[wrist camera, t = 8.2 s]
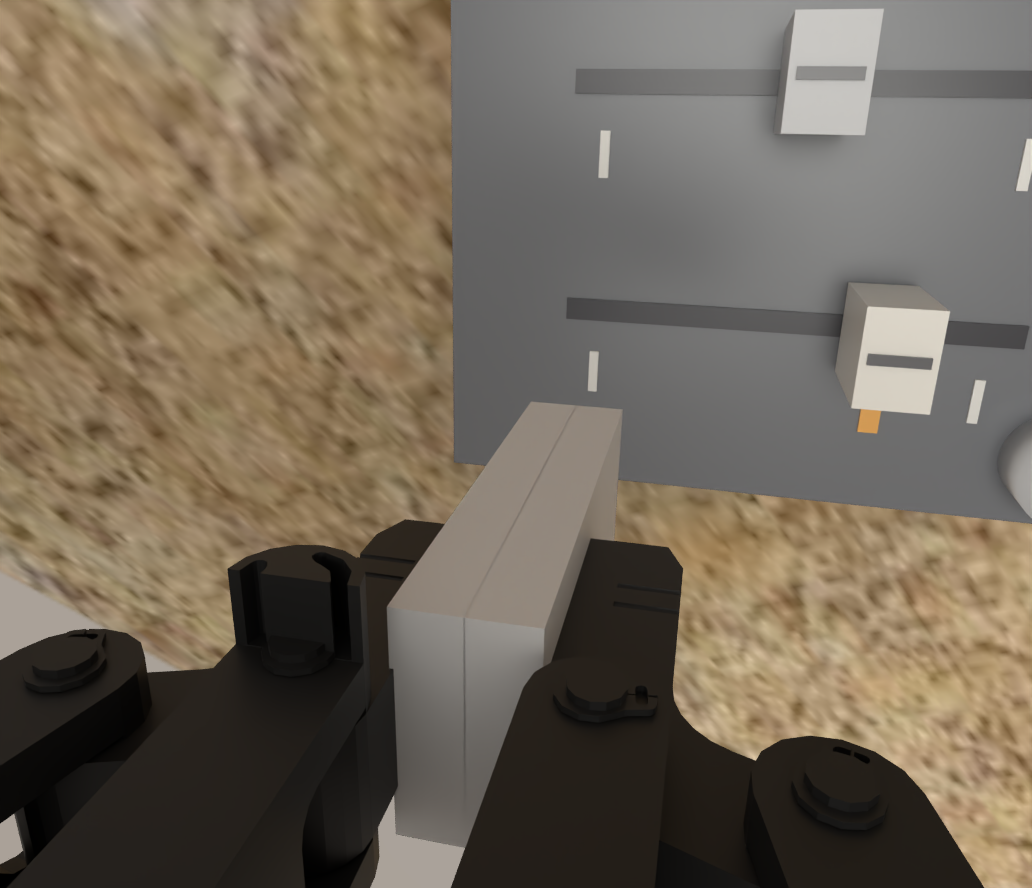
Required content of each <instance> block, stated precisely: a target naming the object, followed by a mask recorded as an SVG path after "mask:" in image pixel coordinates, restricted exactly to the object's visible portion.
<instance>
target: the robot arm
mask: <svg viewBox="0 0 1032 888" xmlns="http://www.w3.org/2000/svg"><path fill="white" fill-rule="evenodd" d="M622 411H623V409H612V408H600V407H588V406H577V405H565V404H553V403H541V402H530V404H529V405H528V407H527V408H526V410H525V411H524V412H523V414H522V415H521V417H520V418H519V420H518V421H517V422H516V424H515V425H514V427H513V428H512V429H511V431H510V432H509V434H508V435H507V437H506V438H505V439H504V441H503V442H502V444H501V445H500V447H499V448H498V449H497V451H496V452H495V454H494V455H493V456H492V458H491V459H490V461H489V462H488V464H487V465H486V466H485V468H484V469H483V471H482V472H481V474H480V475H479V476H478V478H477V479H476V481H475V482H474V483H473V485H472V486H471V488H470V489H469V491H468V492H467V493H466V495H465V496H464V498H463V499H462V501H461V502H460V503H459V505H458V506H457V508H456V509H455V511H454V512H453V513H452V515H451V516H450V518H449V519H448V520H447V522H446V523H445V524H440V523H431V522H423V521H414V520H406V519H405V520H403V521H402V522H400V523H398V524H396V525H394V526H392V527H390V528H388V529H386V530H384V531H382V532H380V533H378V534H377V535H376V536H375V537H374V538H373V539H372V541H371V542H370V543H369V544H368V545H367V546H366V548H365V549H364V550H363V551H362V552H361V554H360V558H359V557H357V558H355V557H354V556H352V555H351V554H349V553H347V552H346V551H343V550H339V549H335V548H331V547H327V546H320V545H293V546H286V547H280V548H273V549H269V550H266V551H263V552H260V553H257V554H254V555H251V556H248V557H246V558H244V559H242V560H241V561H239V562H238V563H236V564H234V565H233V566H231V567H230V568H228V577H229V586H230V595H231V603H232V612H233V621H234V630H235V639H236V645H235V646H234V647H233V648H232V649H231V650H230V651H229V652H228V653H227V654H226V655H225V656H224V657H223V658H222V660H221V661H220V662H219V663H218V664H217V665H216V666H215V667H214V668H211V669H202V670H184V671H169V672H168V671H167V672H151V673H147V669H146V662H145V656H144V652H143V649H142V645H141V642H139V641H138V640H136V639H135V638H133V637H132V636H130V635H129V634H127V633H123V632H118V631H113V630H107V629H89V630H86V629H82V630H73V631H69V632H67V633H64V634H60V635H56V636H52V637H48V638H46V639H43V640H41V641H38V642H36V643H34V644H31V645H29V646H27V647H25V648H22V649H20V650H18V651H16V652H14V653H13V654H11V655H9V656H7V657H5V658H3V659H2V660H0V823H1V822H3V821H4V820H6V819H7V818H9V817H10V816H11V815H13V814H15V819H16V823H17V827H18V831H19V835H20V839H21V844H22V848H23V851H22V852H21V853H20V854H19V855H17V856H16V857H14V858H12V859H10V860H8V861H6V862H4V863H2V864H0V888H370V886H371V884H372V882H373V880H374V878H375V874H376V870H377V865H378V861H379V841H378V826H379V824H380V822H381V820H382V818H383V815H384V814H385V812H386V810H387V808H388V806H389V804H390V802H391V800H392V797H393V796H394V799H395V821H396V822H395V824H396V834H398V835H402V836H407V837H412V838H418V839H423V840H428V841H433V842H438V843H443V844H448V845H453V846H459V847H464V848H465V850H464V853H463V856H462V859H461V861H460V864H459V867H458V869H457V872H456V875H455V878H454V881H453V883H452V886H451V888H984V887H983V885H982V883H981V882H980V880H979V879H978V877H977V876H976V874H975V872H974V871H973V869H972V868H971V866H970V864H969V863H968V861H967V860H966V858H965V857H964V855H963V853H962V852H961V850H960V849H959V847H958V845H957V844H956V842H955V841H954V839H953V838H952V836H951V834H950V833H949V831H948V830H947V828H946V826H945V825H944V823H943V822H942V820H941V819H940V817H939V815H938V814H937V812H936V811H935V809H934V807H933V806H932V804H931V803H930V801H929V800H928V798H927V796H926V795H925V793H924V792H923V791H922V790H921V789H920V788H919V787H918V786H917V785H916V783H915V782H914V781H913V780H912V779H911V778H910V777H909V776H908V775H907V773H906V772H905V771H904V770H902V769H901V768H899V767H898V766H896V765H895V764H893V763H891V762H890V761H888V760H887V759H885V758H884V757H882V756H881V755H879V754H877V753H876V752H874V751H871V750H869V749H866V748H863V747H860V746H858V745H855V744H852V743H849V742H847V741H844V740H839V739H832V738H824V737H816V736H804V737H797V738H790V739H783V740H780V741H779V742H777V743H775V744H773V745H772V746H770V747H768V748H766V749H765V750H763V751H761V753H760V755H759V756H758V758H757V760H756V761H755V760H752V759H750V758H747V757H745V756H742V755H740V754H737V753H735V752H732V751H730V750H728V749H726V748H724V747H722V746H720V745H718V744H716V743H714V742H712V741H710V740H709V739H707V738H706V737H705V736H703V735H702V734H700V733H699V732H698V731H696V730H695V729H694V728H693V727H692V726H691V725H690V724H689V723H688V722H687V721H686V720H685V718H684V717H683V716H682V715H681V714H680V712H679V710H678V708H677V706H676V704H675V702H674V696H673V676H674V665H675V654H676V642H677V631H678V620H679V608H680V597H681V586H682V574H683V568H682V566H681V565H680V564H679V562H678V561H677V559H676V558H675V556H674V555H673V554H672V552H671V551H670V549H669V548H668V547H661V546H652V545H644V544H635V543H627V542H618V541H614V534H615V519H616V503H617V488H618V472H619V457H620V441H621V426H622Z"/></svg>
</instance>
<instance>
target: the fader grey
mask: <svg viewBox="0 0 1032 888" xmlns="http://www.w3.org/2000/svg"><path fill="white" fill-rule="evenodd" d="M883 12H884V9H806V10H795V11H794V13H793V15H792V17H791V19H790V21H789V23H788V25H787V27H786V30H785V39H784V48H783V56H782V65H781V73H780V82H779V91H778V99H777V108H776V117H775V125H774V134H808V135H865V131H866V125H867V118H868V111H869V105H870V98H871V91H872V85H873V78H874V72H875V65H876V58H877V52H878V45H879V38H880V32H881V25H882V19H883Z"/></svg>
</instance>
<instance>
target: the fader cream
mask: <svg viewBox="0 0 1032 888" xmlns="http://www.w3.org/2000/svg"><path fill="white" fill-rule="evenodd" d="M949 315H950V311H949V310H948V309H947V308H945V307H944V306H943V305H942V304H941V303H939V302H938V301H937V300H936V299H934V298H933V297H932V296H931V295H929V294H928V293H927V292H926V291H924V290H923V289H922V288H921V287H919V286H909V285H891V284H872V283H854V282H848V289H847V295H846V302H845V308H844V315H843V321H842V328H841V334H840V341H839V347H838V354H837V361H836V367H835V372H836V375H837V377H838V379H839V382H840V384H841V386H842V388H843V391H844V393H845V395H846V398H847V400H848V402H849V404H850V407H851V408H854V409H866V410H878V411H890V412H902V413H914V414H926V415H930V411H931V406H932V401H933V396H934V391H935V386H936V381H937V376H938V371H939V366H940V361H941V355H942V350H943V345H944V340H945V335H946V330H947V325H948V320H949Z"/></svg>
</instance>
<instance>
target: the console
mask: <svg viewBox="0 0 1032 888" xmlns="http://www.w3.org/2000/svg"><path fill="white" fill-rule="evenodd" d="M806 9H884V12H883V19H882V25H881V32H880V38H879V45H878V52H877V58H876V65H875V72H874V78H873V85H872V91H871V98H870V105H869V111H868V118H867V125H866V131H865V135H808V134H774V125H775V117H776V108H777V99H778V91H779V82H780V73H781V65H782V56H783V48H784V39H785V30H786V27H787V25H788V23H789V21H790V19H791V17H792V15H793V13H794V11H795V10H806ZM451 90H452V237H453V384H454V462H456V463H465V464H475V465H484V466H486V465H487V464H488V462H489V461H490V459H491V458H492V456H493V455H494V454H495V452H496V451H497V449H498V448H499V447H500V445H501V444H502V442H503V441H504V439H505V438H506V437H507V435H508V434H509V432H510V431H511V429H512V428H513V427H514V425H515V424H516V422H517V421H518V420H519V418H520V417H521V415H522V414H523V412H524V411H525V410H526V408H527V407H528V405H529V404H530V402H541V403H553V404H565V405H577V406H588V407H600V408H612V409H623V411H622V426H621V441H620V457H619V472H618V480H625V481H635V482H644V483H654V484H663V485H673V486H682V487H691V488H701V489H710V490H720V491H729V492H738V493H748V494H757V495H767V496H776V497H786V498H795V499H804V500H814V501H823V502H833V503H842V504H851V505H861V506H870V507H880V508H889V509H899V510H908V511H917V512H927V513H936V514H946V515H955V516H964V517H974V518H983V519H993V520H1002V521H1012V522H1021V523H1030V524H1032V0H451ZM848 282H854V283H872V284H891V285H909V286H919V287H921V288H922V289H923V290H924V291H926V292H927V293H928V294H929V295H931V296H932V297H933V298H934V299H936V300H937V301H938V302H939V303H941V304H942V305H943V306H944V307H945V308H947V309H948V310H949V311H950V315H949V320H948V325H947V330H946V335H945V340H944V345H943V350H942V355H941V361H940V366H939V371H938V376H937V381H936V386H935V391H934V396H933V401H932V406H931V411H930V415H926V414H914V413H902V412H890V411H878V410H866V409H854V408H851V407H850V404H849V402H848V400H847V398H846V395H845V393H844V391H843V388H842V386H841V384H840V382H839V379H838V377H837V375H836V372H835V367H836V361H837V354H838V347H839V341H840V334H841V328H842V321H843V315H844V308H845V302H846V295H847V289H848Z"/></svg>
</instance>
